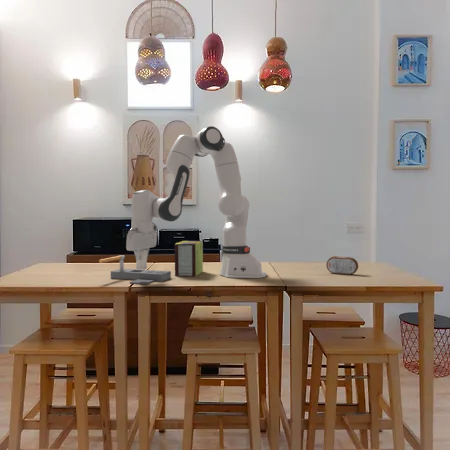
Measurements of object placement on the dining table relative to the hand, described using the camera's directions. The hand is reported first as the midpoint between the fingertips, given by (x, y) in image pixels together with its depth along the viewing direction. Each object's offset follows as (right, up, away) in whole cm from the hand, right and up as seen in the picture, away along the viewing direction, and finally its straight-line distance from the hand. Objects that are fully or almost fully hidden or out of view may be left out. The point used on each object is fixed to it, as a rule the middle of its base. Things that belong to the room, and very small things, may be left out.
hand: (141, 259), depth 189 cm
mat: (0, -10, 0) cm, 10 cm away
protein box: (+19, -9, +24) cm, 31 cm away
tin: (+93, -9, +23) cm, 97 cm away
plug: (0, -4, 0) cm, 4 cm away
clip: (-15, -1, +7) cm, 16 cm away
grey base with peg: (-2, -10, +11) cm, 15 cm away
